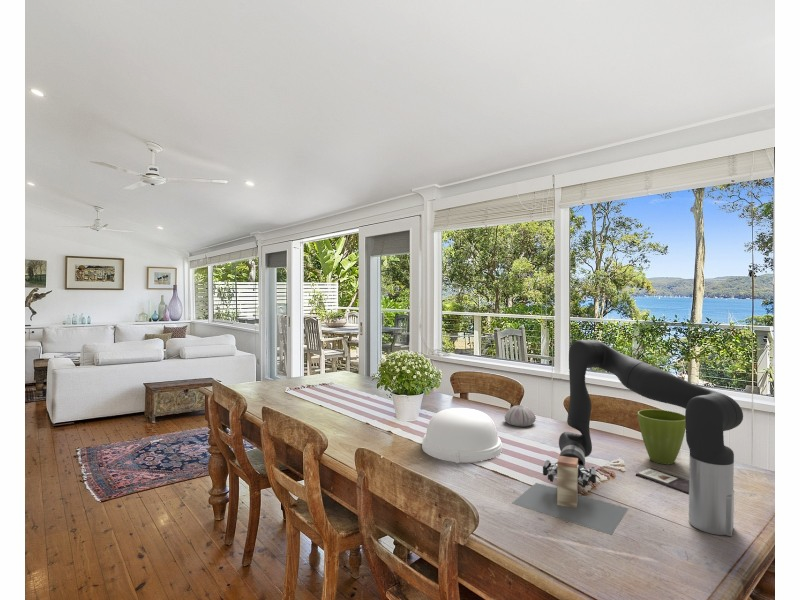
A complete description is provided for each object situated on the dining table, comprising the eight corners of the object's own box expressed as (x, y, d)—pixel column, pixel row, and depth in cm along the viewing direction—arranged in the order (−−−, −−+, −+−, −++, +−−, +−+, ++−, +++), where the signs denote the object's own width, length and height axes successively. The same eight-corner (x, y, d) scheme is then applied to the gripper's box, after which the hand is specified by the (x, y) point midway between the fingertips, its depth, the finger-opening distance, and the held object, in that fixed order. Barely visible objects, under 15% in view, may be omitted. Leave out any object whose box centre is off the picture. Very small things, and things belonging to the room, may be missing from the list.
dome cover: (429, 432, 193) (429, 398, 192) (502, 437, 186) (502, 402, 186) (414, 460, 161) (414, 420, 161) (501, 467, 155) (501, 426, 154)
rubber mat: (628, 510, 124) (628, 508, 124) (611, 536, 111) (611, 534, 111) (536, 484, 141) (536, 482, 141) (511, 504, 128) (511, 503, 128)
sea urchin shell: (524, 430, 194) (524, 411, 194) (498, 423, 204) (498, 405, 204) (541, 424, 203) (541, 406, 203) (515, 417, 213) (515, 400, 213)
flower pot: (631, 460, 160) (632, 415, 159) (644, 449, 171) (644, 406, 170) (680, 472, 149) (681, 423, 149) (690, 459, 160) (691, 414, 160)
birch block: (577, 500, 129) (578, 458, 129) (576, 508, 124) (577, 464, 124) (558, 497, 131) (559, 455, 131) (557, 504, 127) (557, 461, 126)
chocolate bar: (696, 495, 132) (636, 473, 147) (696, 498, 132) (636, 476, 147) (711, 487, 137) (651, 467, 152) (711, 491, 137) (651, 470, 152)
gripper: (547, 445, 144) (540, 463, 129) (597, 452, 138) (595, 471, 124) (547, 469, 144) (540, 489, 130) (596, 476, 139) (595, 499, 124)
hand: (567, 481), depth 127 cm, fingers open, 8 cm apart
